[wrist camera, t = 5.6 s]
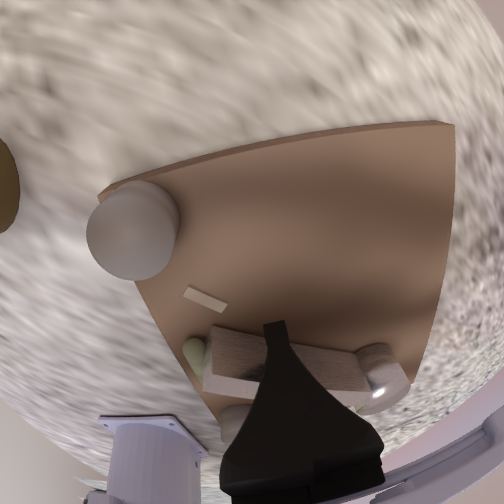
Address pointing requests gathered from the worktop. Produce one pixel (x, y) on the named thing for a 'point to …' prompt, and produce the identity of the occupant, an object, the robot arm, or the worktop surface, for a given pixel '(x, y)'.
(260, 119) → the worktop surface
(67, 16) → the worktop surface
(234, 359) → the lever handle
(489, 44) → the worktop surface
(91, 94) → the worktop surface
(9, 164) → the cork
